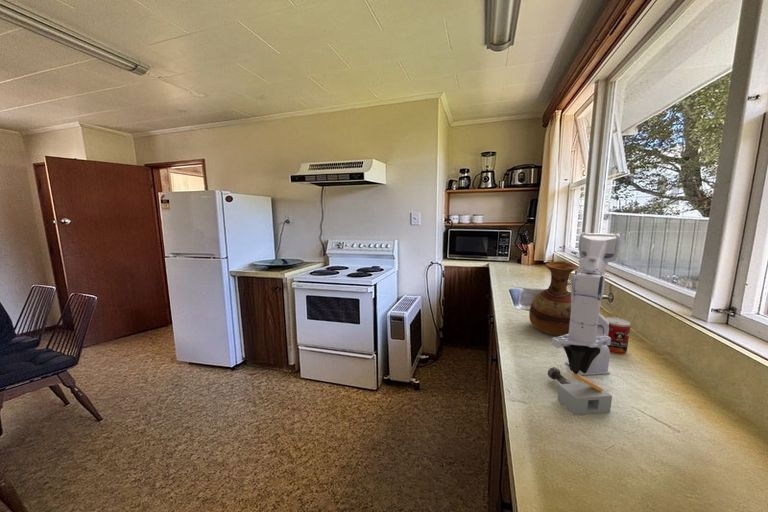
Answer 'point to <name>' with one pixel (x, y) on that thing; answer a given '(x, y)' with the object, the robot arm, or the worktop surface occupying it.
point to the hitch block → (584, 399)
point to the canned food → (618, 335)
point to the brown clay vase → (554, 301)
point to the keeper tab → (587, 382)
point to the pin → (557, 376)
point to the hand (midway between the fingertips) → (578, 371)
